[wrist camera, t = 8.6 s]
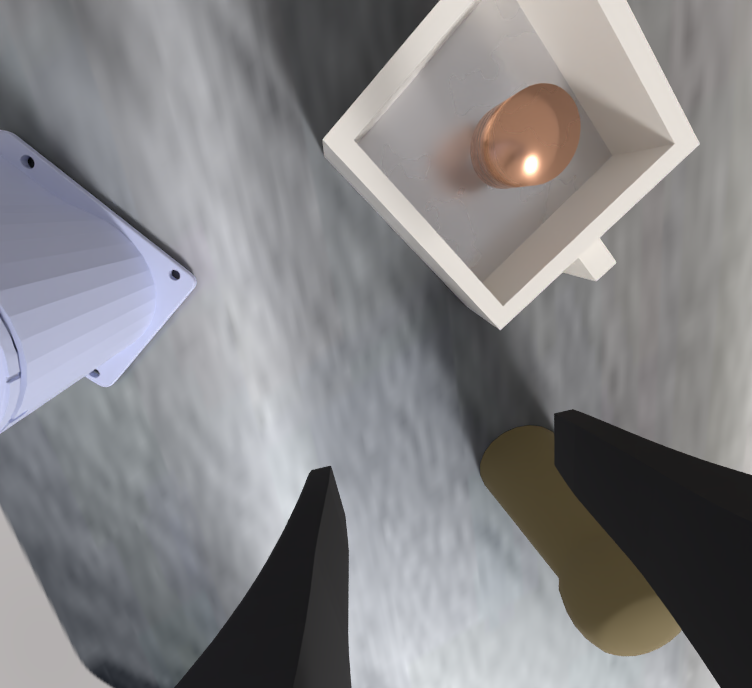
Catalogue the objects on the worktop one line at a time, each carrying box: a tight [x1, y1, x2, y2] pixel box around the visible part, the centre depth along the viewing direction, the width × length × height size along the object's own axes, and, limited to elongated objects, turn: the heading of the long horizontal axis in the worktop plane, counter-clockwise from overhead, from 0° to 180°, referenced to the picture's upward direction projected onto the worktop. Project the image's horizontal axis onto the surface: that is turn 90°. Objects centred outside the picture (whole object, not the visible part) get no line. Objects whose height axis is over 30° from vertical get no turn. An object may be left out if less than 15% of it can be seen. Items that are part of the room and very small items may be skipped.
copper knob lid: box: [358, 0, 612, 282], centre depth 15 cm, size 9×9×5 cm
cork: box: [480, 425, 682, 656], centre depth 20 cm, size 6×6×11 cm
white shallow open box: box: [323, 0, 700, 330], centre depth 16 cm, size 13×11×4 cm
